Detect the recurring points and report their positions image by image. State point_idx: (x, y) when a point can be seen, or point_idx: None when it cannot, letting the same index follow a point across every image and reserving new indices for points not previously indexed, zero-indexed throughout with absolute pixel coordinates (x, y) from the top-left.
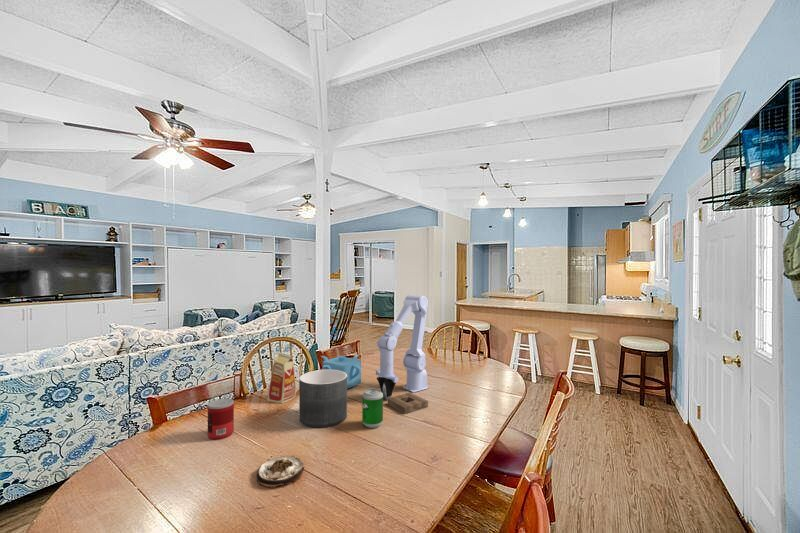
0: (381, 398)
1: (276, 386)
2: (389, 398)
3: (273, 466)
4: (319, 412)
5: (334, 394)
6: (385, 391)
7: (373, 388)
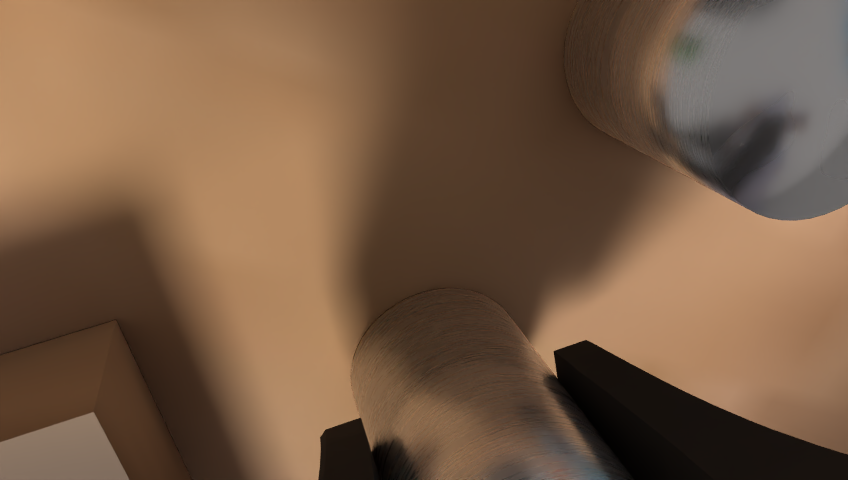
0: None
1: None
2: (75, 460)
3: None
4: None
5: None
6: (429, 474)
7: (827, 197)
